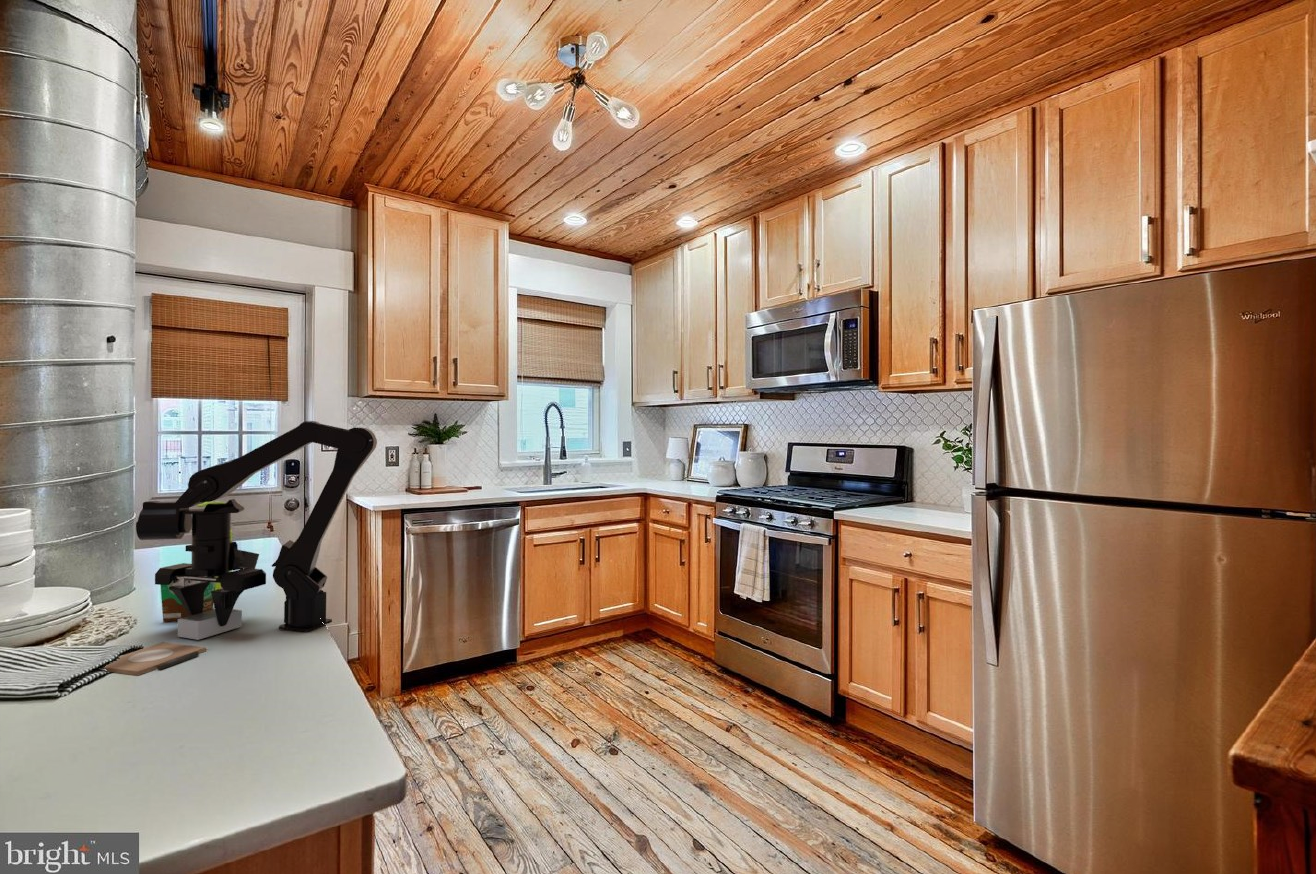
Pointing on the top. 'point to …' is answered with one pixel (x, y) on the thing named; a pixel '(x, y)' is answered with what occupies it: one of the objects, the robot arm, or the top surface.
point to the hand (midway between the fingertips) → (210, 624)
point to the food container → (175, 608)
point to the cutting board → (154, 658)
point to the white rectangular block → (207, 624)
